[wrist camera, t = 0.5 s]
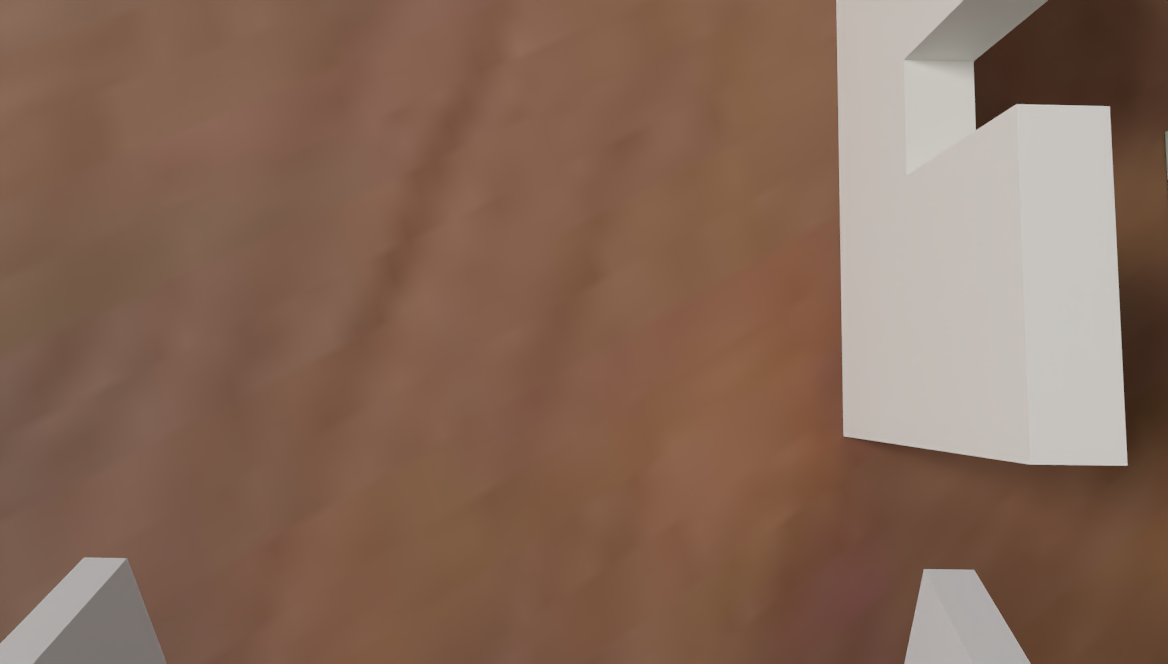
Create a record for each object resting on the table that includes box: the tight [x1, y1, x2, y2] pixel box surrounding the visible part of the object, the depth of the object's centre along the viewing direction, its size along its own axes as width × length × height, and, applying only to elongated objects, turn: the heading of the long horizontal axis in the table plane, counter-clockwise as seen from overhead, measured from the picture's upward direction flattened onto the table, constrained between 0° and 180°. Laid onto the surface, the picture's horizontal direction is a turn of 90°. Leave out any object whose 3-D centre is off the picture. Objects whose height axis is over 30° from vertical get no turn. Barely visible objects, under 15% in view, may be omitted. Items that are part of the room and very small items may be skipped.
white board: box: [836, 0, 1128, 466], centre depth 25 cm, size 22×2×12 cm, turn 179°
